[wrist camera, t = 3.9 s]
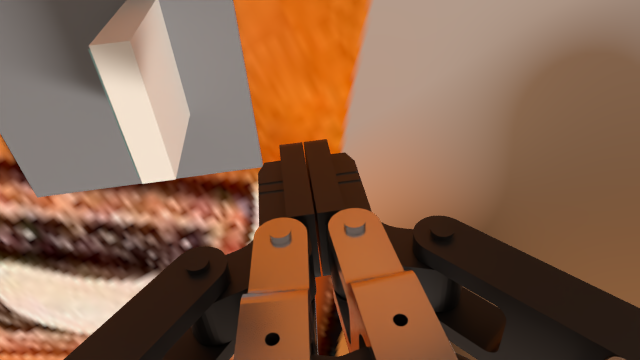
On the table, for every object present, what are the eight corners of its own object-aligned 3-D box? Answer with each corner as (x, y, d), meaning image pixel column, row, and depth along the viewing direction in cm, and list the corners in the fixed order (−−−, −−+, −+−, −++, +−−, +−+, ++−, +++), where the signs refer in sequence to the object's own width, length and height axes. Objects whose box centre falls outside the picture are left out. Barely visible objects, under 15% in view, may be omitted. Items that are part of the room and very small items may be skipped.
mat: (-117, -85, 18) (-125, -83, 17) (211, -116, 19) (211, -116, 18) (40, 191, 26) (37, 197, 26) (262, 162, 27) (262, 166, 26)
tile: (123, 0, 20) (84, 45, 15) (157, -4, 20) (129, 40, 16) (160, 117, 24) (138, 184, 19) (190, 113, 24) (175, 179, 19)
